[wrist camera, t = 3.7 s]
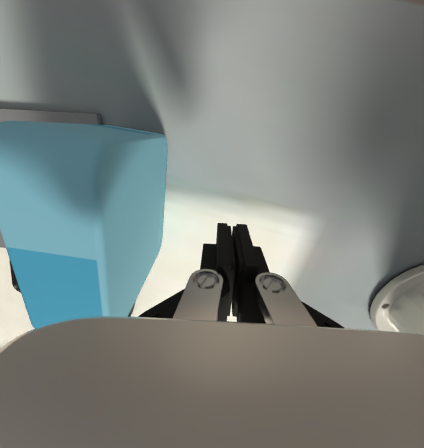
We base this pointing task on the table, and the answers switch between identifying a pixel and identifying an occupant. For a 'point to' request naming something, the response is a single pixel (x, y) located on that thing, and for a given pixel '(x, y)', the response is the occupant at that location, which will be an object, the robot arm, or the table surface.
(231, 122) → the table surface
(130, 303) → the data package
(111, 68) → the table surface
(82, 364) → the robot arm
